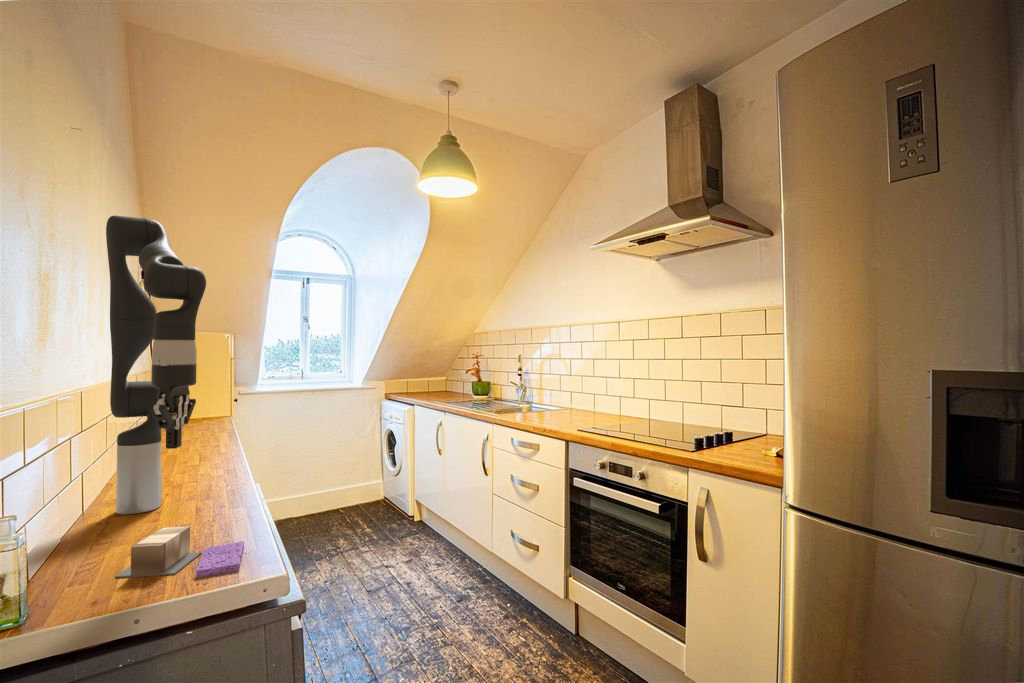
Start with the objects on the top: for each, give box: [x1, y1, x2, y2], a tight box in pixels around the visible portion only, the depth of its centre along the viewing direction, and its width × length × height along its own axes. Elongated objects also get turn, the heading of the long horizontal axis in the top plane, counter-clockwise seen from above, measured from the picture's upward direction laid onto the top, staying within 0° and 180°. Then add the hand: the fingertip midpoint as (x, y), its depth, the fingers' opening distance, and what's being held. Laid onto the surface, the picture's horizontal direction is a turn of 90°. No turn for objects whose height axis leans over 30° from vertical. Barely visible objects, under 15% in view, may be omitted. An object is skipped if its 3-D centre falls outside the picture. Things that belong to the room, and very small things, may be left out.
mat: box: [114, 551, 203, 579], centre depth 93 cm, size 10×10×1 cm
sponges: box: [195, 540, 245, 579], centre depth 95 cm, size 7×13×2 cm, turn 25°
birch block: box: [130, 526, 191, 575], centre depth 93 cm, size 5×5×10 cm
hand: (173, 447), depth 99 cm, fingers closed
